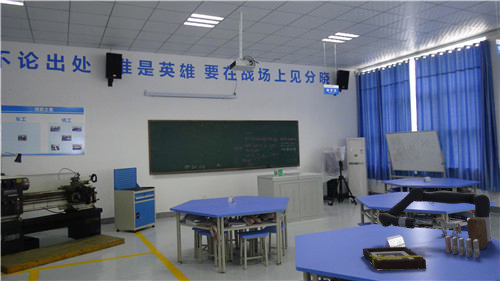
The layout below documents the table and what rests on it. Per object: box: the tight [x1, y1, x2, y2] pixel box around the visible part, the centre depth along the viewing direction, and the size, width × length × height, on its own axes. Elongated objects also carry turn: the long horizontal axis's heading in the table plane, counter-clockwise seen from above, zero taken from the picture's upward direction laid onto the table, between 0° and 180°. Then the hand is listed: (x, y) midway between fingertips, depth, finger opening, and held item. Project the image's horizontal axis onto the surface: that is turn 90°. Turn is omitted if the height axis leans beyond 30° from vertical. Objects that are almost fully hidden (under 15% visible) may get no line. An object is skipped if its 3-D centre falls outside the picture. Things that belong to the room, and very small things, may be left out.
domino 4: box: [472, 239, 480, 259], centre depth 222 cm, size 2×5×10 cm, turn 133°
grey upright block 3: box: [458, 237, 466, 256], centre depth 227 cm, size 2×5×10 cm, turn 133°
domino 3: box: [465, 238, 473, 257], centre depth 224 cm, size 2×5×10 cm, turn 132°
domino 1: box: [444, 235, 452, 254], centre depth 233 cm, size 2×5×10 cm, turn 133°
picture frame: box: [362, 246, 427, 270], centre depth 220 cm, size 28×7×30 cm
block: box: [466, 216, 489, 250], centre depth 240 cm, size 11×8×20 cm
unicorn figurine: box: [432, 216, 463, 237], centre depth 276 cm, size 7×20×13 cm, turn 70°
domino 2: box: [451, 236, 459, 255], centre depth 230 cm, size 2×5×10 cm, turn 133°
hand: (432, 225), depth 240 cm, fingers closed
